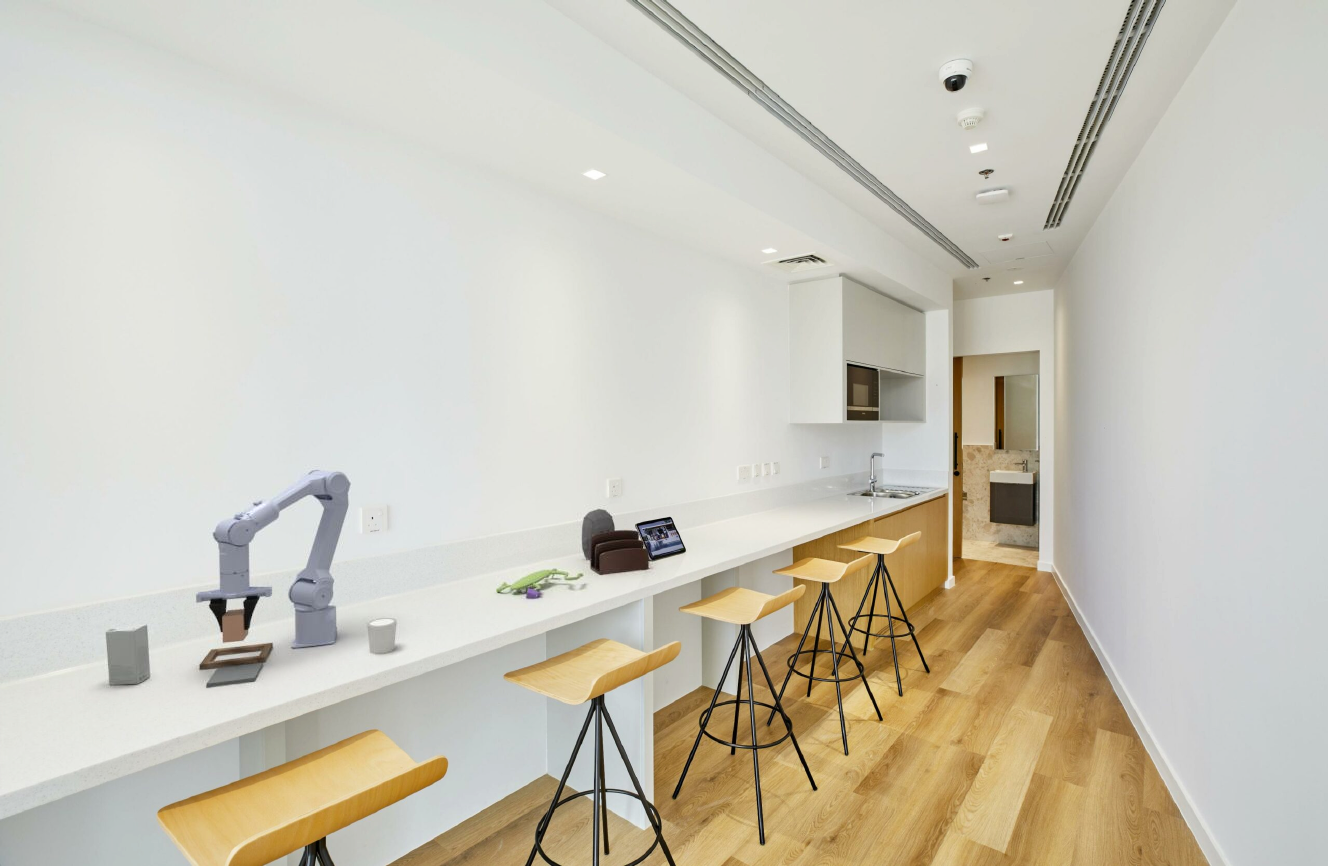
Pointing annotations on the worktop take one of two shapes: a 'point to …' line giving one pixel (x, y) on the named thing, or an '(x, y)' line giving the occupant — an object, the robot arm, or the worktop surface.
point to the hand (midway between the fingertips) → (235, 629)
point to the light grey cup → (381, 635)
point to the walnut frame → (210, 657)
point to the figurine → (534, 579)
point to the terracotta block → (234, 626)
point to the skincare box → (128, 654)
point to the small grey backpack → (595, 528)
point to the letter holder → (618, 552)
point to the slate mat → (235, 674)
